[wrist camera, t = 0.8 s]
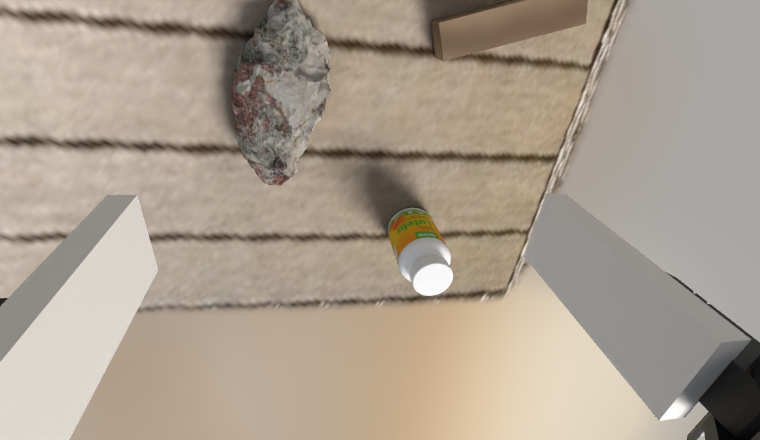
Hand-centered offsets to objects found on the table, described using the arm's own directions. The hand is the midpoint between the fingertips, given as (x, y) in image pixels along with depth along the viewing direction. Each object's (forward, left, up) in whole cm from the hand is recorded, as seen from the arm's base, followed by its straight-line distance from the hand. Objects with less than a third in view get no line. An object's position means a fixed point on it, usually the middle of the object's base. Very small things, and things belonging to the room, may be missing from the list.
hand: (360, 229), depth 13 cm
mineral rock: (0, -4, -26) cm, 26 cm away
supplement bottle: (+18, +5, -26) cm, 32 cm away
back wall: (-1, +17, -26) cm, 31 cm away
